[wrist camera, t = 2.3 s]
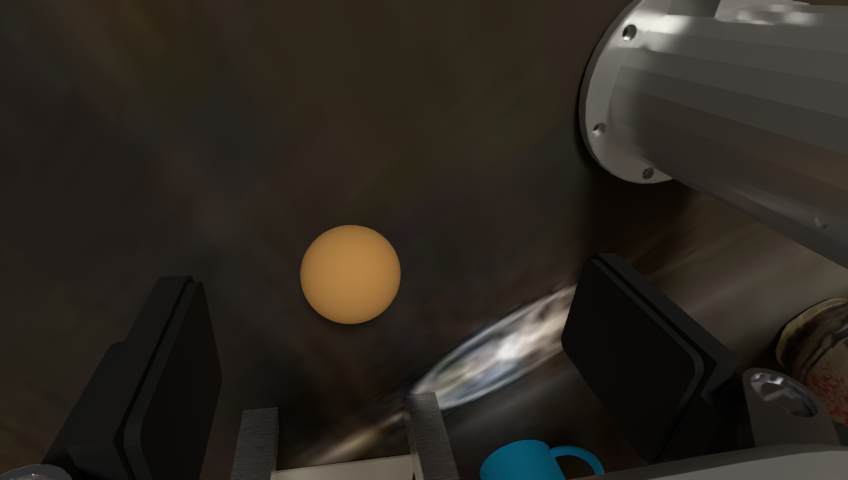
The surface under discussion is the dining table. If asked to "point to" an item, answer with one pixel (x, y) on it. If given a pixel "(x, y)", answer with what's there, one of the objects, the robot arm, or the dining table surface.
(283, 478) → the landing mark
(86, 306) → the dining table surface
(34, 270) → the dining table surface
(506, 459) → the mug
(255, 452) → the post
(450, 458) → the post
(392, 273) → the ball
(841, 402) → the ceramic jug
